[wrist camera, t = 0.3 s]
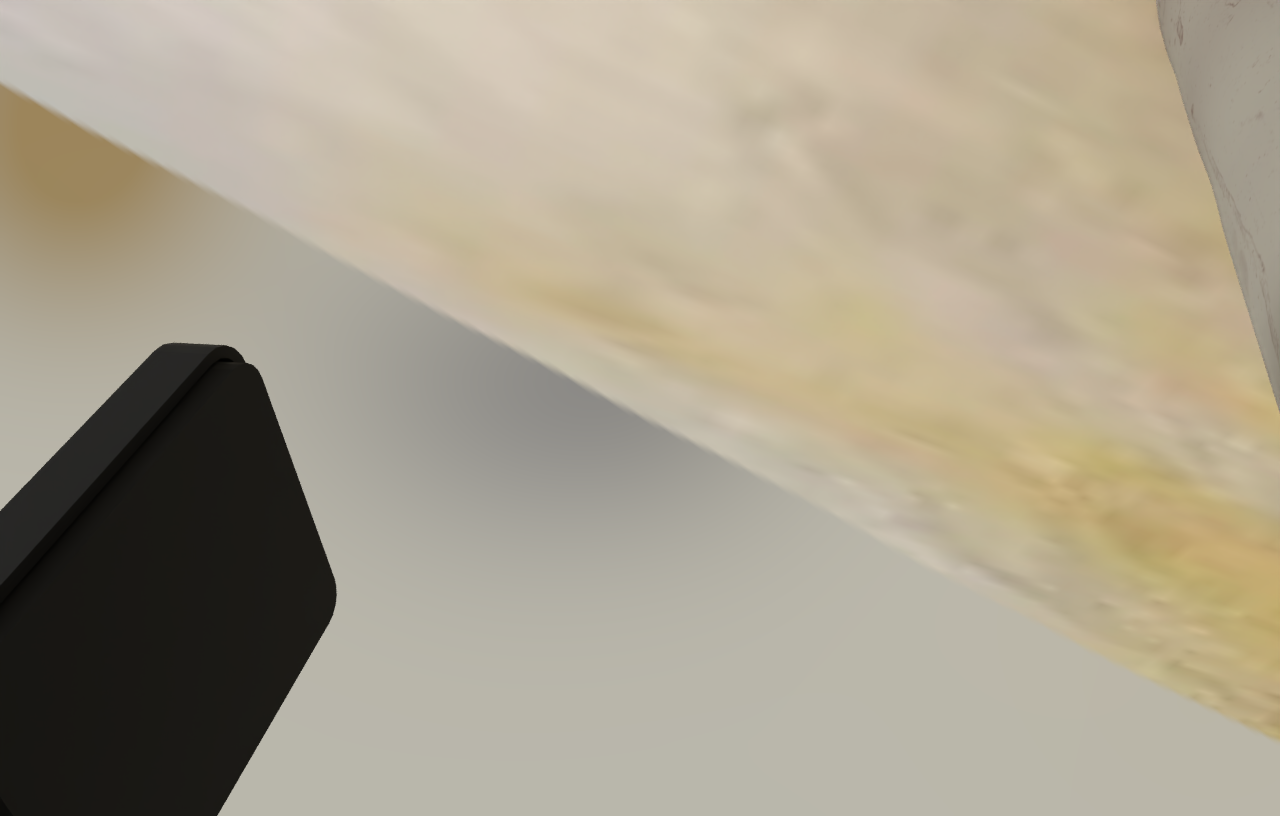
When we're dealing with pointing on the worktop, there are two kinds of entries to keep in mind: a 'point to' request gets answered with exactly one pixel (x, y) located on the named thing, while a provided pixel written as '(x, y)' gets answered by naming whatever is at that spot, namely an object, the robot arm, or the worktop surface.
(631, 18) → the worktop surface
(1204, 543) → the worktop surface
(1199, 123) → the thermos bottle
